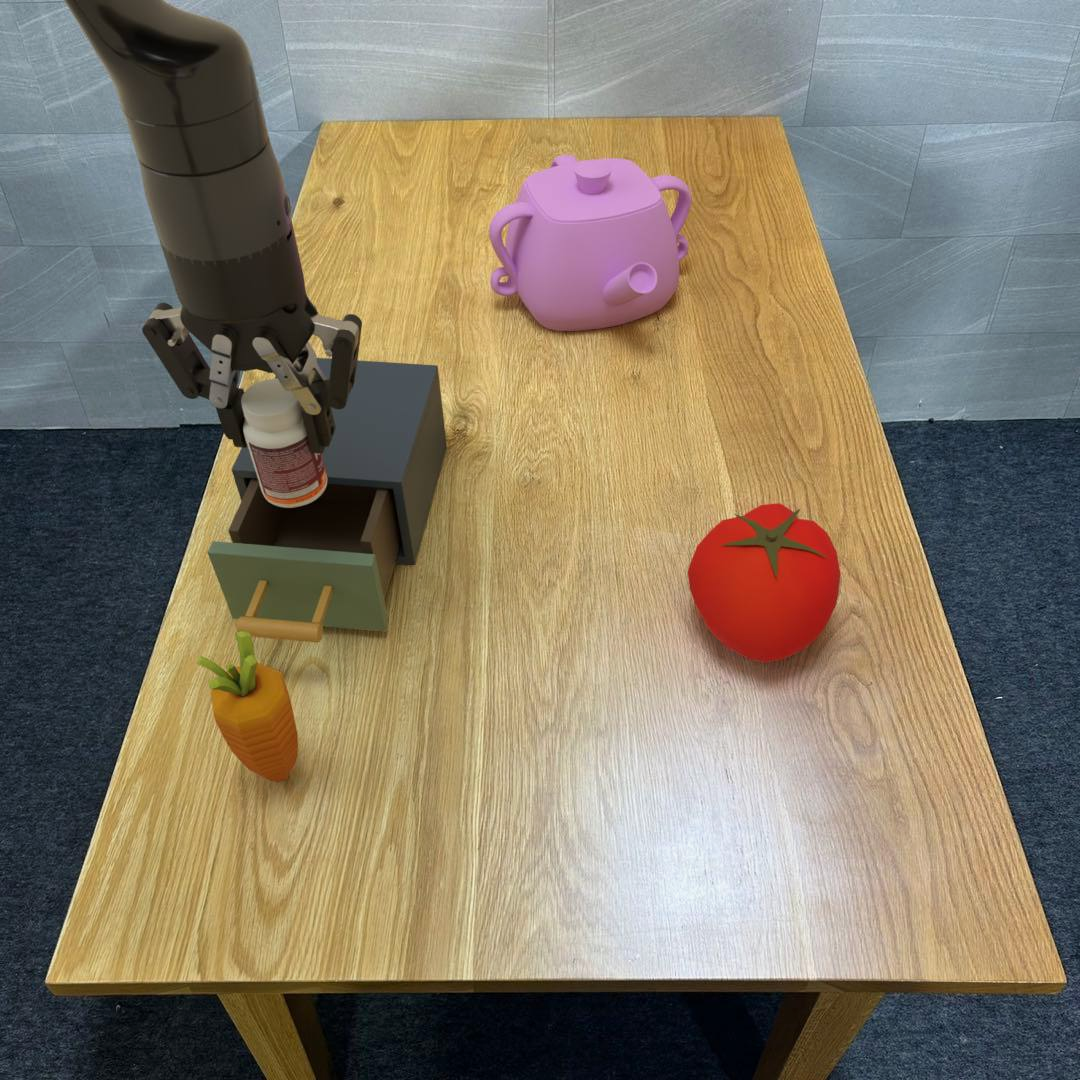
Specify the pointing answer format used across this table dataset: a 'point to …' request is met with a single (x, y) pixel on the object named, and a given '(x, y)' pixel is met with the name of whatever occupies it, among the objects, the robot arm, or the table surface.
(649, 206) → the teapot
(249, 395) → the pill bottle
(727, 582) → the tomato
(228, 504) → the table surface
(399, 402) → the cabinet
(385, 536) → the drawer
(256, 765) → the carrot
